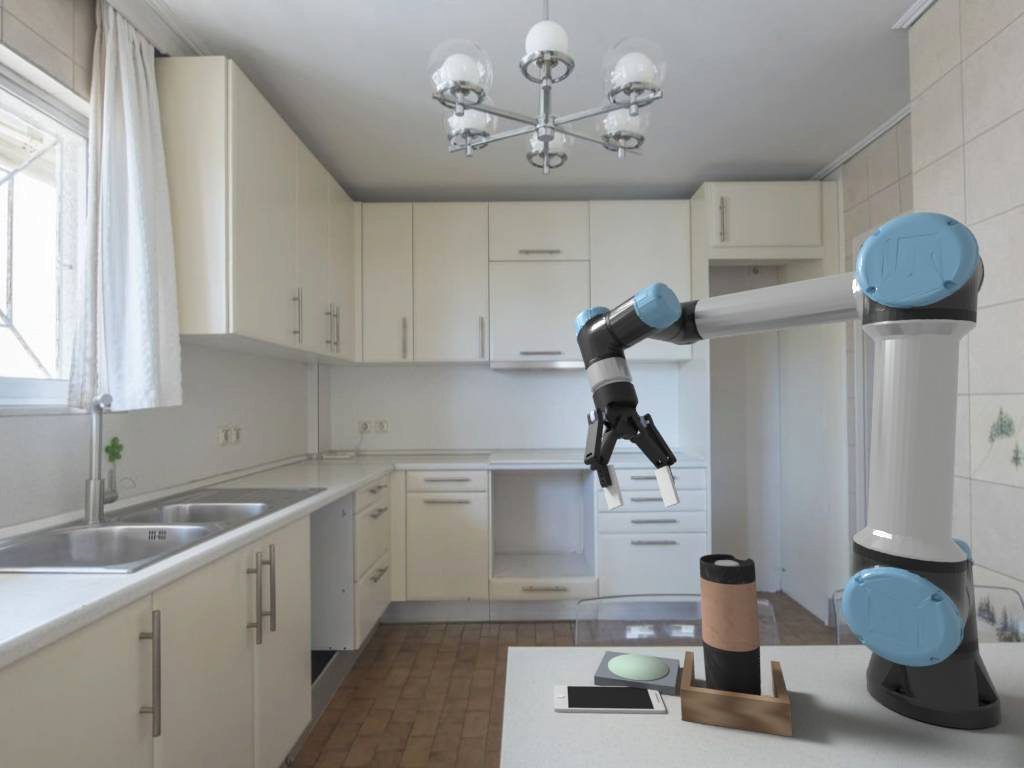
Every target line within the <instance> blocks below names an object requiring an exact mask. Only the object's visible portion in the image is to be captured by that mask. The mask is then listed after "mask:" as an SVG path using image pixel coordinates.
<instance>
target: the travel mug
mask: <svg viewBox="0 0 1024 768" xmlns="http://www.w3.org/2000/svg"><path fill="white" fill-rule="evenodd" d="M756 575H757V574H756V563H755V561H754V559H752V558H750V557H749V558H746V560H743V559H738V558H736V557H735V556H734V555H733V554H728V553H727V554H726V553H714V554H712V553H711V554H707V555H706V554H705V555H702V556H700V558H699V577H700V579H699V580H700V581H699V582H700V606H701V632H702V633H701V635H702V649H703V661H704V662H703V663H704V665H703V666H704V673H705V674H704V676H705V686H706V687H705V688H706V689H713V690H721V691H728V692H736V693H743V694H751V695H758V696H762V681H761V680H762V677H761V646H760V645H761V640H760V624H759V623H760V622H759V609H758V594H757V593H758V592H757V580H756V578H757V577H756Z"/></svg>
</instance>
